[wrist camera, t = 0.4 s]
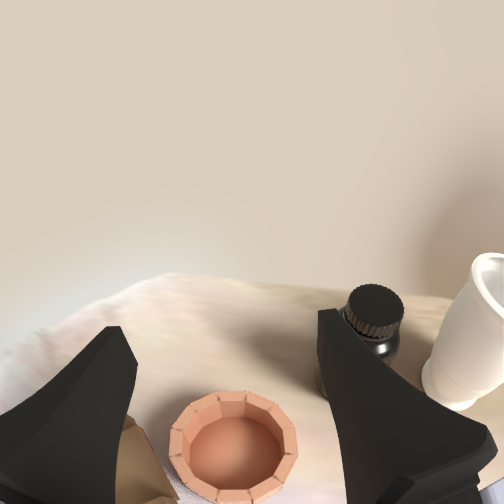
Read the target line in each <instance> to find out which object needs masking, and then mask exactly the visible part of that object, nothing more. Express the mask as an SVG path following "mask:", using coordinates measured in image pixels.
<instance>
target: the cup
mask: <svg viewBox="0 0 504 504" xmlns="http://www.w3.org/2000/svg"><path fill="white" fill-rule="evenodd" d="M172 428H173V429H171V433H170V445H169V458H170V460H171V462H172V464H173V466H174V467H175V469H176V471H177V473H178V474H179V476H180V478H181V479H182V481H183V483H184V484H185V485H186V486H187V487H188V488H190V489H191V490H192V491H193V492H194V493H196V494H198V495H200V496H201V497H203V498H205V499H207V500H209V501H211V502H213V503H215V504H258V503H260V502H261V501H263V500H265V499H267V498H269V497H270V496H272V495H274V494H275V493H277V492H278V491H279V490H280V489H281V487H282V485H283V484H284V482H285V480H286V478H287V476H288V474H289V473H290V471H291V469H292V467H293V465H294V463H295V461H296V459H297V457H298V447H297V439H296V431H295V427H294V424H293V423H292V422H291V421H290V419H289V418H288V417H287V416H286V415H285V413H284V412H283V411H282V410H281V408H280V407H279V406H278V405H277V404H275V402H273V401H270V400H268V399H265V398H263V397H261V396H259V395H256V394H254V393H252V392H249V391H248V393H247V391H217V393H216V392H214V393H211V394H209V395H207V396H205V397H203V398H201V399H199V400H197V401H194V402H192V403H190V406H189V405H188V406H187V407H186V408H185V410H184V411H183V412H182V414H181V415H180V416H179V418H178V419H177V420H176V422H175V423H174V424H173V425H172Z"/></svg>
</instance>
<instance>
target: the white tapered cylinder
mask: <svg viewBox="0 0 504 504" xmlns="http://www.w3.org/2000/svg"><path fill="white" fill-rule="evenodd" d="M421 378H422V385H423V388H424V391H425V393H426V394H427V396H429V397H430V398H432V399H433V400H435V401H436V402H438V403H440V404H441V405H443V406H445V407H447V408H449V409H451V410H452V411H461V410H464V409H466V408H468V407H470V406H471V405H472V404H473V403H474V402H475V401H476V399H477V398H480V397H482V396H484V395H486V394H488V393H489V392H491V391H492V390H493V389H495V388H496V387H497V386H498V385H500V384H502V383H503V382H504V255H502V254H498V253H485V254H482V255H480V256H478V257H477V258H476V259H475V260H474V262H473V264H472V265H471V268H470V271H469V281H468V282H467V283H466V284H465V285H464V287H463V288H462V289H461V290H460V292H459V293H458V295H457V296H456V298H455V299H454V301H453V302H452V304H451V306H450V308H449V310H448V311H447V313H446V316H445V318H444V320H443V322H442V325H441V328H440V331H439V334H438V336H437V338H436V341H435V343H434V346H433V349H432V353H431V357H430V358H429V359H428V360H427V361H426V363H425V364H424V367H423V369H422V375H421Z"/></svg>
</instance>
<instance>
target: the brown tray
mask: <svg viewBox="0 0 504 504" xmlns="http://www.w3.org/2000/svg"><path fill="white" fill-rule="evenodd" d="M177 500H180V498H179V497H178V495H177V493H176V492H175V490H174V488H173V486H172V485H171V483H170V481H169V479H168V478H167V476H166V474H165V472H164V470H163V468H162V467H161V465H160V463H159V461H158V459H157V457H156V455H155V453H154V451H153V449H152V447H151V445H150V443H149V441H148V439H147V437H146V435H145V433H144V431H143V429H142V428H141V427H139V426H138V425H136V422H135V420H134V419H133V418H132V417H130V416H129V415H128V414H126V418H125V422H124V425H123V429H122V432H121V437H120V442H119V449H118V457H117V467H116V484H115V503H116V504H177V502H176V501H177Z"/></svg>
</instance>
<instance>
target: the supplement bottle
mask: <svg viewBox="0 0 504 504" xmlns="http://www.w3.org/2000/svg"><path fill="white" fill-rule="evenodd" d="M338 311H339V312H340V314H341V315H342V316H343V317H344V319H345V320H346V321H347V322H348V324H349V325H350V326H351V327H352V328H353V330H354V331H355V332H356V333H357V334H358V335H359V336H360V338H361V339H362V340H363V341H364V342H365V343H366V344H367V345H368V346H369V347H370V348H371V349H372V350H373V351H374V352H375V353H376V354H377V355H378V356H379V357H380V358H381V359H382V360H383V361H384V362H385V363H386V364H387V365H388V366H390V364H391V362H392V361H393V359H394V357H395V356H396V354H397V352H398V350H399V348H400V344H401V331H400V323H401V321H402V318H403V315H404V307H403V303H402V302H401V299H400V298H399V296H398V295H396V294H395V292H393V291H392V290H391V289H388V288H387V287H383V286H381V285H377V284H365V285H361V286H360V287H357V288H356V289H354V290H353V292H351V294H350V296H349V298H348V301H347V304H346V306H344V307H342V308H341V309H339V310H338ZM315 381H316V384H317V387H318V389H319V391H320V392H321V393H322V394H323V395H324V396H325V397H326V398H327V399H328V397H327V394H326V391H325V387H324V384H323V380H322V377H321V371H320V366H319V360H318V363H317V367H316V371H315Z"/></svg>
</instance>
